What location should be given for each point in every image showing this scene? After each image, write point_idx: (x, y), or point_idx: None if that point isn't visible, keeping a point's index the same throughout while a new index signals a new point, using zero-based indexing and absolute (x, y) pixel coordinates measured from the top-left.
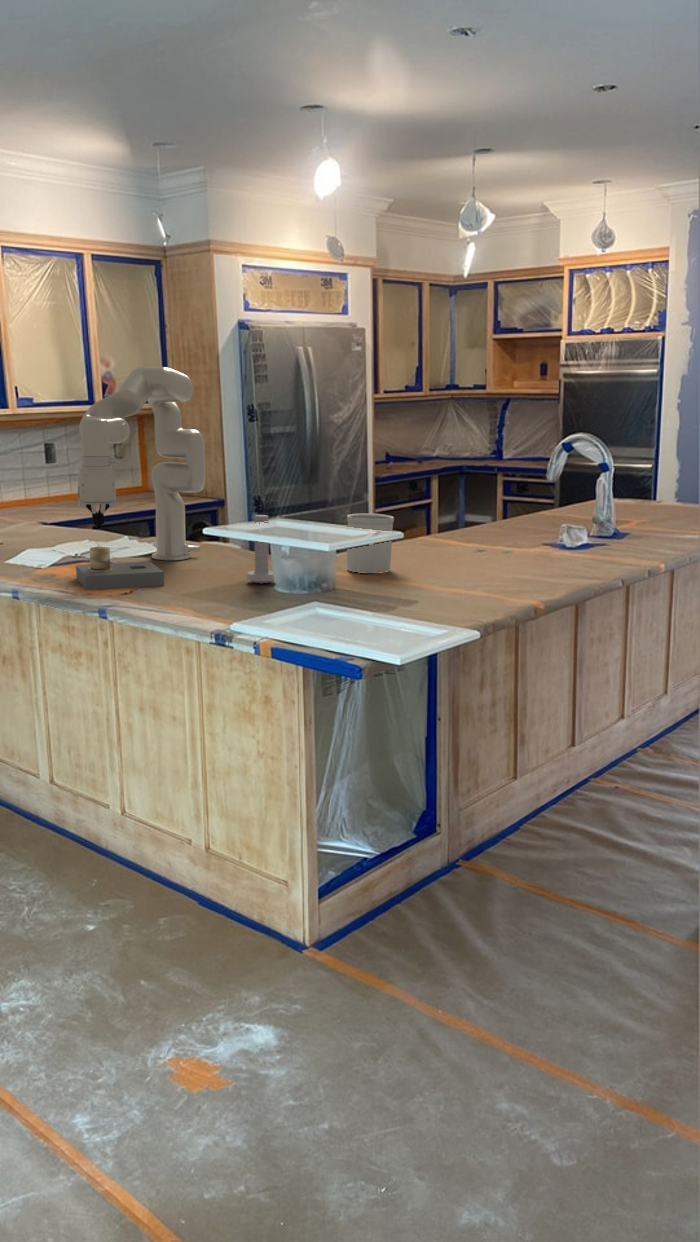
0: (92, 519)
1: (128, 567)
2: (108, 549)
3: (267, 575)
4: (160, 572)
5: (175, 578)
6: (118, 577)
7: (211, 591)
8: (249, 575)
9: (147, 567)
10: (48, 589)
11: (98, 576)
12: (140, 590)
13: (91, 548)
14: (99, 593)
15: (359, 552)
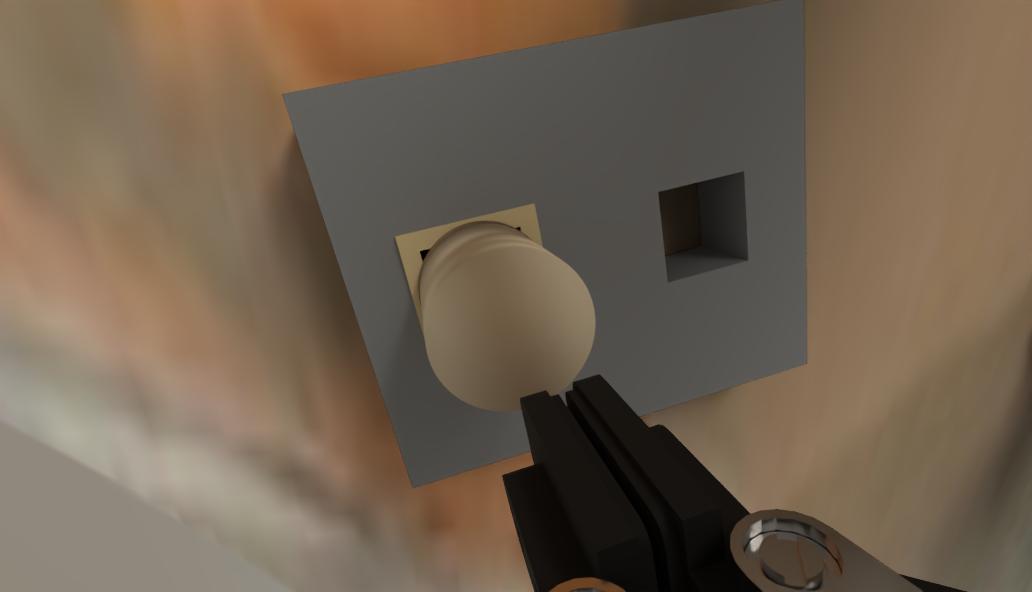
0: (520, 533)
1: (652, 227)
2: (583, 358)
3: None
4: (790, 366)
5: (836, 165)
6: None
7: (891, 448)
8: None
9: (754, 232)
10: (198, 429)
11: (481, 463)
12: None
13: (442, 346)
14: (479, 504)
15: None
